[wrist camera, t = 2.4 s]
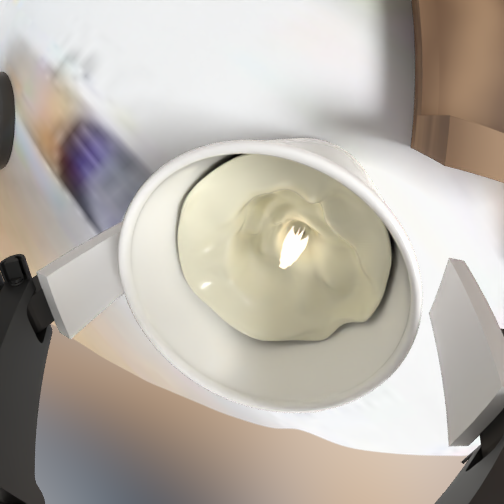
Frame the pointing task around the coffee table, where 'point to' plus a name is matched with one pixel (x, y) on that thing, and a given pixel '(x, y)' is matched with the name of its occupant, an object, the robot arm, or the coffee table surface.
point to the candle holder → (271, 273)
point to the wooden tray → (460, 84)
